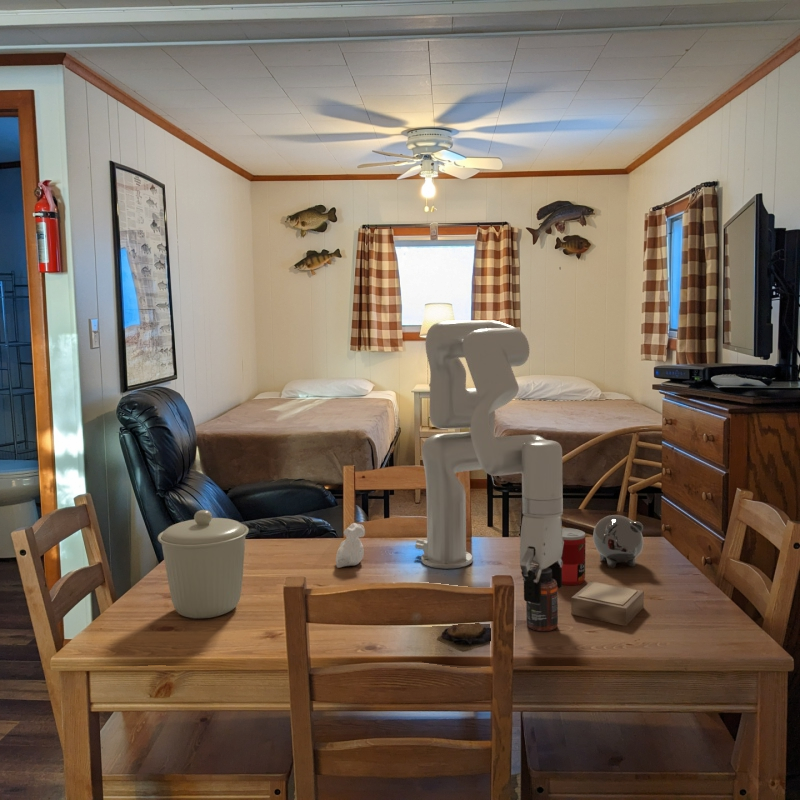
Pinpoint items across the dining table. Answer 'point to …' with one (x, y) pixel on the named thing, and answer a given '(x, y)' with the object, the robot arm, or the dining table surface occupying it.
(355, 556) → the bust
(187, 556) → the canister
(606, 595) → the base
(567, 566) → the canned food
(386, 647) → the dining table surface
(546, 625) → the supplement bottle
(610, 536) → the piggy bank
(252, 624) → the dining table surface
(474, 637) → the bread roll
